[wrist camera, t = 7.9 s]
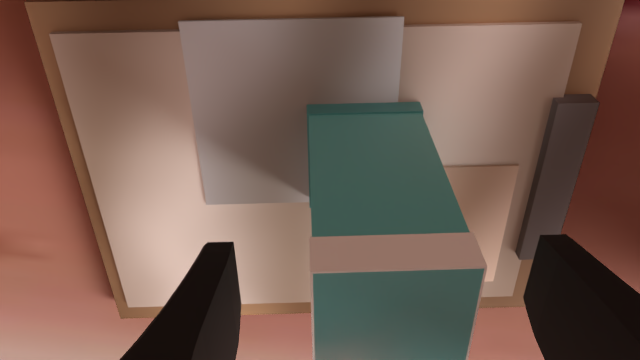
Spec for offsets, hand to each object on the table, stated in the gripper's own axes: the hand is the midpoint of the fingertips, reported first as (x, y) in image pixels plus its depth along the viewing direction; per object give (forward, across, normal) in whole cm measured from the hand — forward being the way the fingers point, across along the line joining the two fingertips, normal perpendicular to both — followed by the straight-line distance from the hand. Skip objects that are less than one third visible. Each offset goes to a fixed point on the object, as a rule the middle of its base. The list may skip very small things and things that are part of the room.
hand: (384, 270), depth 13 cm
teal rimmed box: (+5, 0, 0) cm, 5 cm away
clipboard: (+6, +1, +1) cm, 6 cm away
